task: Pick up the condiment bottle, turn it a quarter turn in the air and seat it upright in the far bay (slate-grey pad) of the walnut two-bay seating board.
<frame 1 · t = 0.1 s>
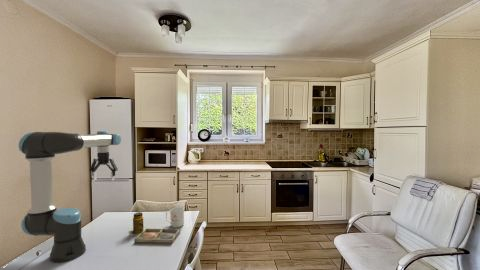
hand: (103, 180, 169), 28 cm above the table, fingers open, 13 cm apart
mug: (174, 225, 156), on the table
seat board: (158, 237, 138), on the table
condiment: (136, 232, 146), on the table
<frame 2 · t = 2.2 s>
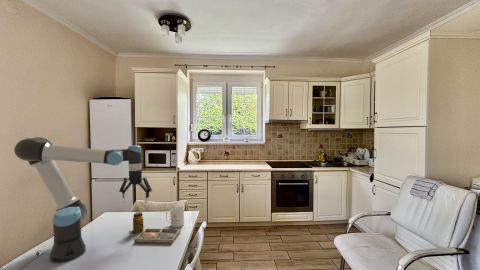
hand: (136, 202, 146), 19 cm above the table, fingers open, 13 cm apart
nothing on the table moved.
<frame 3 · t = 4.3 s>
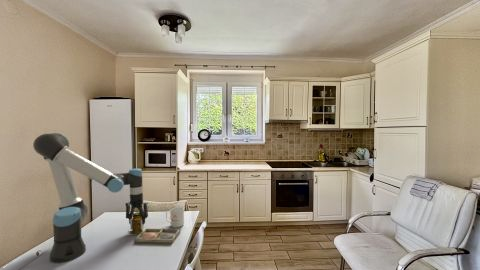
hand: (137, 228, 146), 2 cm above the table, fingers closed on condiment, 6 cm apart
condiment: (136, 232, 146), on the table, touching gripper
everything else where it was.
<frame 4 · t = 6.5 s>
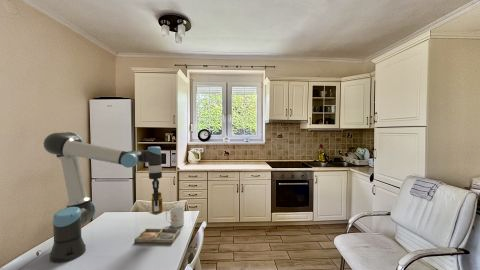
hand: (156, 209, 140), 17 cm above the table, fingers closed on condiment, 6 cm apart
condiment: (156, 212, 141), point 14 cm above the table, touching gripper
everything else where it was.
when the fingers open (5 cm above the table, at t = 8.9 s): condiment moves 2 cm, point 3 cm above the table.
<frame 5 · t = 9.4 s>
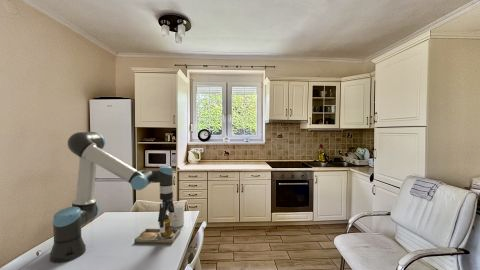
hand: (166, 227, 137), 6 cm above the table, fingers open, 12 cm apart
condiment: (166, 234, 137), point 3 cm above the table, touching gripper
everything else where it was.
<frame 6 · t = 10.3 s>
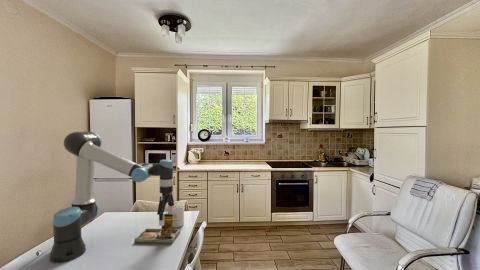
hand: (166, 220, 137), 11 cm above the table, fingers open, 13 cm apart
condiment: (165, 235, 136), point 2 cm above the table
everything else where it was.
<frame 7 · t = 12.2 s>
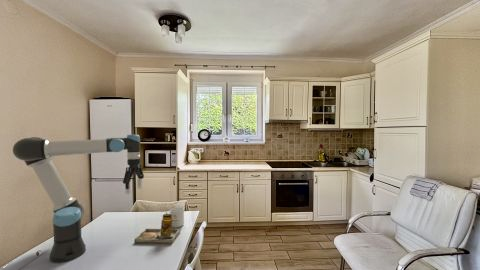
hand: (134, 191, 148), 26 cm above the table, fingers open, 13 cm apart
condiment: (165, 235, 136), point 2 cm above the table, touching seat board
everything else where it was.
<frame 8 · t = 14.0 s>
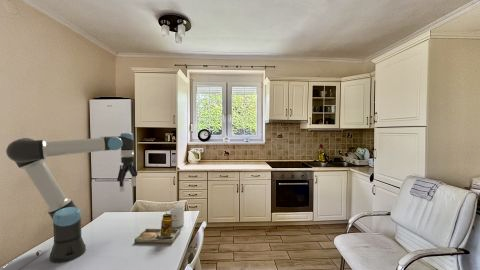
hand: (128, 188, 151), 27 cm above the table, fingers open, 13 cm apart
nothing on the table moved.
at the end: condiment inside the target area on the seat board (1.6 cm from its centre), point 2.2 cm above the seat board's base; condiment tilted 10°; the gripper is holding nothing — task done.
